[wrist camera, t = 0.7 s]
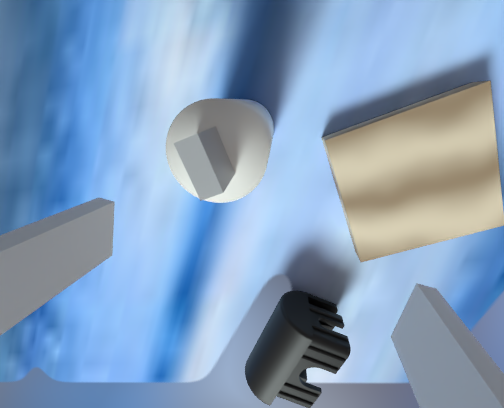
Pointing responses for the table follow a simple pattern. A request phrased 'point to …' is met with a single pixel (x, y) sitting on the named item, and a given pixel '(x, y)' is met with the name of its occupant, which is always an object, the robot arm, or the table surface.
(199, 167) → the white bottle
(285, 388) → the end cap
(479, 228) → the oak board
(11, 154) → the table surface
